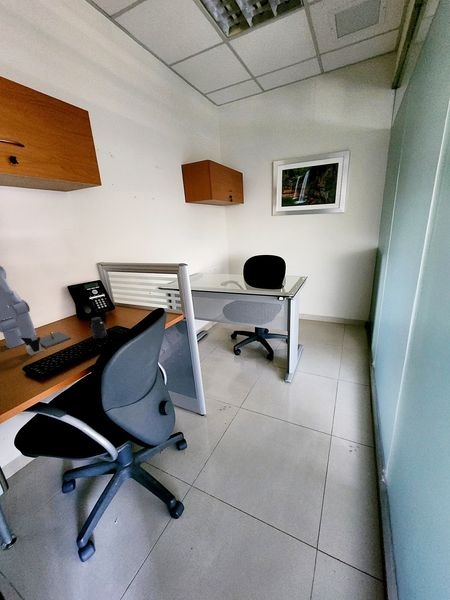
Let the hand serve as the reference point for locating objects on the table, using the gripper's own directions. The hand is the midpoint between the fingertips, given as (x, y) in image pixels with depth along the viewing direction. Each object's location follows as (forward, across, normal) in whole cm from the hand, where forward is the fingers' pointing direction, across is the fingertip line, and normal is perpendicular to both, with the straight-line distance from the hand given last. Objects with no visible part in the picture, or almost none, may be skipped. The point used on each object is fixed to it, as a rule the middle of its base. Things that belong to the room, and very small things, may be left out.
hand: (34, 349), depth 123 cm
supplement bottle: (+2, +17, +26) cm, 31 cm away
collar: (+1, 0, 0) cm, 1 cm away
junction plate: (+1, -7, +11) cm, 13 cm away
